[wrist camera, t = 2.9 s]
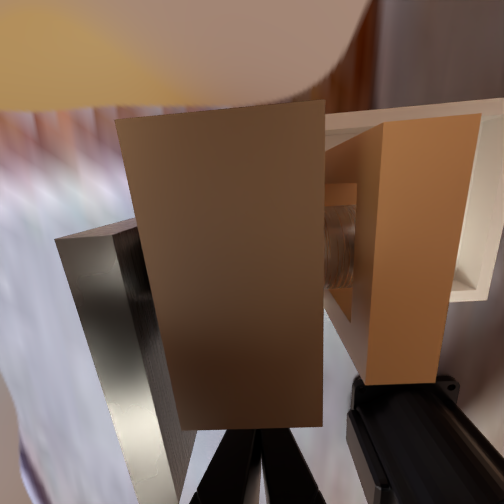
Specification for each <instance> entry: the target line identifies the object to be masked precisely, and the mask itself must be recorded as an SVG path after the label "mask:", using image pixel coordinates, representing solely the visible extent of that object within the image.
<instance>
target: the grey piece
mask: <svg viewBox="0 0 504 504" xmlns="http://www.w3.org/2000/svg"><path fill="white" fill-rule="evenodd" d="M355 222H356V204H352V205H339V206H325V207H324V289H339V288H353V266H354V244H355ZM54 240H55V243H56V246H57V249H58V252H59V255H60V258H61V261H62V265H63V268H64V271H65V274H66V277H67V280H68V283H69V287H70V290H71V293H72V296H73V299H74V302H75V305H76V308H77V312H78V315H79V318H80V321H81V324H82V327H83V330H84V333H85V337H86V340H87V343H88V346H89V349H90V352H91V355H92V359H93V362H94V365H95V368H96V371H97V374H98V377H99V380H100V384H101V387H102V390H103V393H104V396H105V399H106V402H107V405H108V409H109V412H110V415H111V418H112V421H113V424H114V427H115V431H116V434H117V437H118V440H119V443H120V446H121V449H122V452H123V456H124V459H125V462H126V465H127V468H128V471H129V474H130V477H131V481H132V484H133V487H134V490H135V493H136V496H137V499H138V503H139V504H179V501H180V497H181V493H182V489H183V485H184V481H185V477H186V473H187V469H188V465H189V461H190V457H191V453H192V450H193V446H194V442H195V438H196V434H197V430H190V431H181V427H180V422H179V417H178V413H177V408H176V403H175V399H174V394H173V389H172V385H171V380H170V376H169V371H168V366H167V362H166V357H165V352H164V348H163V343H162V338H161V334H160V329H159V324H158V320H157V315H156V310H155V306H154V301H153V297H152V292H151V287H150V283H149V278H148V273H147V269H146V264H145V259H144V255H143V250H142V245H141V241H140V236H139V231H138V227H137V222H136V217H135V218H132V219H128V220H124V221H120V222H117V223H113V224H109V225H105V226H102V227H98V228H94V229H91V230H87V231H83V232H79V233H76V234H72V235H68V236H64V237H61V238H57V239H54Z"/></svg>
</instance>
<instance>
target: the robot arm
mask: <svg viewBox="0 0 504 504" xmlns="http://www.w3.org/2000/svg"><path fill="white" fill-rule="evenodd" d="M362 387H363V388H362ZM459 389H460V384H459V383H458V382H457V381H456V380H455V379H454V378H453V377H451V376H436V381H435V383H412V384H385V385H365V384H364V382H363V380H362V379H359V380H356V381H355V382H354V383H353V385H352V399H351V410H349V412H348V413H347V431H346V441H347V444H348V447H349V450H350V452H351V455H352V458H353V461H354V464H355V467H356V470H357V473H358V476H359V479H360V482H361V485H362V488H363V491H364V494H365V497H366V500H367V502H368V504H504V458H503V456H502V455H501V454H500V453H499V452H498V451H497V450H496V449H495V448H494V446H493V445H492V444H491V443H490V442H489V441H488V440H487V439H486V437H485V436H484V435H483V434H482V433H481V432H480V431H479V430H478V428H477V427H476V426H475V425H474V424H473V423H472V422H471V421H470V420H469V418H468V417H467V416H466V415H465V414H464V413H463V412H462V411H461V409H460V408H459V407H458V406H457V405H456V403H457V398H458V394H459ZM261 458H262V469H263V478H264V486H265V495H266V503H267V504H326V502H325V500H324V498H323V496H322V494H321V492H320V491H319V490H318V486H317V484H316V482H315V480H314V478H313V475H312V473H311V471H310V469H309V467H308V465H307V463H306V461H305V459H304V457H303V455H302V453H301V451H300V449H299V447H298V445H297V443H296V441H295V438H294V436H293V434H292V432H291V430H290V428H261V429H227V430H226V432H225V434H224V436H223V438H222V440H221V442H220V444H219V446H218V448H217V450H216V452H215V454H214V456H213V458H212V460H211V462H210V464H209V466H208V468H207V470H206V472H205V474H204V476H203V478H202V480H201V482H200V484H199V486H198V487H197V492H195V493H194V495H193V497H192V499H191V501H190V503H189V504H259V493H260V479H261Z"/></svg>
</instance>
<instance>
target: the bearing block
mask: <svg viewBox="0 0 504 504" xmlns="http://www.w3.org/2000/svg"><path fill="white" fill-rule="evenodd" d="M115 125H116V129H117V134H118V138H119V143H120V148H121V152H122V157H123V162H124V166H125V171H126V176H127V180H128V185H129V190H130V194H131V199H132V204H133V208H134V213H135V217H136V222H137V227H138V231H139V236H140V241H141V245H142V250H143V255H144V259H145V264H146V269H147V273H148V278H149V283H150V287H151V292H152V297H153V301H154V306H155V310H156V315H157V320H158V324H159V329H160V334H161V338H162V343H163V348H164V352H165V357H166V362H167V366H168V371H169V376H170V380H171V385H172V389H173V394H174V399H175V403H176V408H177V413H178V417H179V422H180V427H181V431H190V430H226V429H261V428H297V427H323V316H324V200H325V99H322V100H311V101H301V102H291V103H280V104H270V105H260V106H250V107H239V108H229V109H219V110H209V111H198V112H188V113H178V114H167V115H157V116H147V117H137V118H126V119H116V120H115Z"/></svg>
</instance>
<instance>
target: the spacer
mask: <svg viewBox="0 0 504 504" xmlns="http://www.w3.org/2000/svg"><path fill="white" fill-rule="evenodd" d="M481 116H482V113H477V114H466V115H455V116H444V117H433V118H422V119H412V120H401V121H390V122H383V123H381V124H379V125H377V126H375V127H373V128H371V129H369V130H367V131H365V132H363V133H361V134H359V135H357V136H355V137H353V138H351V139H349V140H347V141H345V142H343V143H341V144H339V145H337V146H335V147H333V148H331V149H329V150H327V151H325V200H324V207H325V206H339V205H352V204H356V222H355V244H354V266H353V288H339V289H324V308H325V310H326V312H327V314H328V316H329V318H330V320H331V321H332V323H333V325H334V327H335V329H336V331H337V333H338V335H339V337H340V339H341V340H342V342H343V344H344V346H345V348H346V350H347V352H348V354H349V356H350V357H351V359H352V361H353V363H354V365H355V367H356V369H357V371H358V373H359V375H360V376H361V378H362V380H363V382H364V384H365V385H385V384H412V383H435V381H436V375H437V369H438V363H439V358H440V352H441V346H442V340H443V335H444V329H445V323H446V317H447V312H448V306H449V300H450V294H451V289H452V283H453V277H454V271H455V266H456V260H457V254H458V248H459V243H460V237H461V231H462V225H463V220H464V214H465V208H466V202H467V196H468V191H469V185H470V179H471V173H472V168H473V162H474V156H475V150H476V145H477V139H478V133H479V127H480V122H481Z"/></svg>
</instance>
